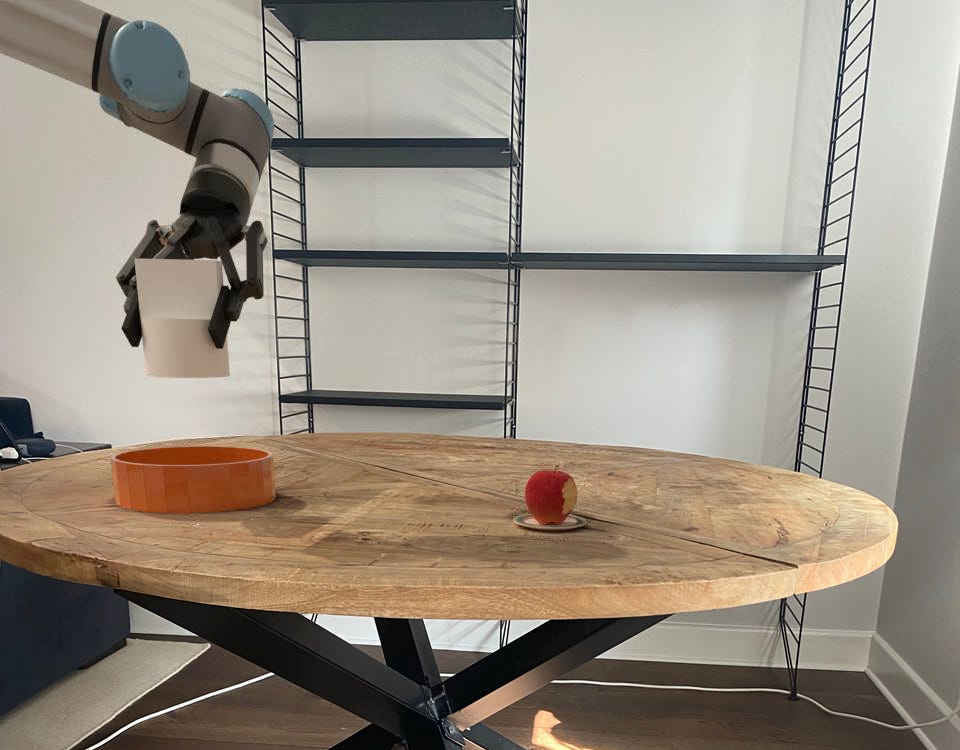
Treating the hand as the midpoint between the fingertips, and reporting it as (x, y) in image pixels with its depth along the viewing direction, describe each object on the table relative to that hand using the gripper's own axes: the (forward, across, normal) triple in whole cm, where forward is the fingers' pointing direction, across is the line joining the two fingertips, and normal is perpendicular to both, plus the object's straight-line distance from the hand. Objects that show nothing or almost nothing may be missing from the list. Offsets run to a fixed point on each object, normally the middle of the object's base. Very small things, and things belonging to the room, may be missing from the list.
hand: (172, 338), depth 98 cm
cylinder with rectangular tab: (+1, 0, -5) cm, 5 cm away
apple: (+13, -41, -14) cm, 46 cm away
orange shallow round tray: (+10, +1, -16) cm, 19 cm away
